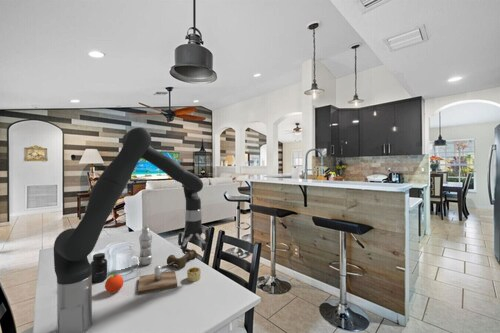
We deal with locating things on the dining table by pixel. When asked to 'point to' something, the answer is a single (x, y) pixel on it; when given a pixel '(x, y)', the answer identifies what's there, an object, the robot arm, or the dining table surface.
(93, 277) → the supplement bottle
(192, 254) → the kendama
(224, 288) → the dining table surface
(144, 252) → the plastic bottle
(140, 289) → the walnut base plate
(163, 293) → the dining table surface
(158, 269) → the steel post
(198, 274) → the brass ring
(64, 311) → the robot arm
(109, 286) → the clementine
